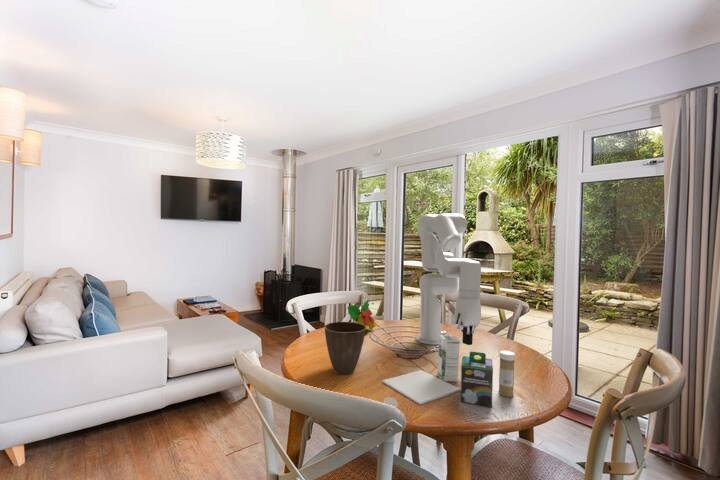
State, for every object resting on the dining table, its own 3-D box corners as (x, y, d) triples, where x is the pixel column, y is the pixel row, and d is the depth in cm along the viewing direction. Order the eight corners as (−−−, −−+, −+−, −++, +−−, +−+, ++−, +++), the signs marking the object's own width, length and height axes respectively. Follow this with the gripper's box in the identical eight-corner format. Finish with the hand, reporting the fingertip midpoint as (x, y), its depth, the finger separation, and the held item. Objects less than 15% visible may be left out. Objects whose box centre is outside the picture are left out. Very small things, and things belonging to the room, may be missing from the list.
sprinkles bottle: (514, 393, 112) (516, 351, 112) (512, 398, 108) (513, 355, 108) (499, 389, 114) (501, 348, 114) (496, 394, 111) (498, 352, 110)
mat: (421, 371, 127) (421, 370, 127) (460, 390, 112) (460, 389, 112) (382, 382, 117) (382, 380, 117) (420, 404, 102) (420, 402, 102)
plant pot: (315, 367, 127) (316, 324, 127) (348, 360, 137) (349, 319, 136) (338, 382, 116) (339, 334, 115) (372, 372, 125) (374, 328, 124)
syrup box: (436, 375, 125) (438, 334, 124) (452, 374, 125) (454, 334, 125) (441, 381, 119) (443, 339, 119) (458, 381, 120) (460, 339, 119)
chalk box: (491, 395, 110) (493, 348, 110) (492, 408, 102) (494, 358, 101) (461, 389, 113) (463, 344, 113) (459, 402, 105) (461, 353, 104)
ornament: (360, 338, 165) (361, 307, 165) (346, 335, 170) (347, 304, 169) (380, 328, 183) (381, 300, 183) (366, 326, 187) (367, 298, 187)
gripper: (473, 291, 135) (471, 338, 135) (447, 293, 126) (445, 344, 126) (490, 294, 128) (488, 343, 129) (464, 297, 120) (462, 350, 120)
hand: (467, 343), depth 128 cm, fingers closed
